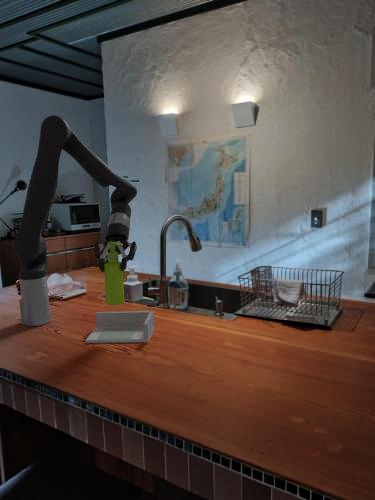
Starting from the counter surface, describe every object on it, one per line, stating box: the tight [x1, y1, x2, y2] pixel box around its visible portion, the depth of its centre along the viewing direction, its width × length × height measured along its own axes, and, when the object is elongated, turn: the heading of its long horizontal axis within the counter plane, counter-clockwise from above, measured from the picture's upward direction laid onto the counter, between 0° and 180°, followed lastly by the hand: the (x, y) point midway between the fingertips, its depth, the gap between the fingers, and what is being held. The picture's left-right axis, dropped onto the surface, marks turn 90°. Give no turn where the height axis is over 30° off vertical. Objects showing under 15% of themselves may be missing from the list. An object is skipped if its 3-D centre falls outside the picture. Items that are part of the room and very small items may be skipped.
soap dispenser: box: [103, 242, 125, 306], centre depth 124 cm, size 6×7×20 cm
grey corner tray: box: [85, 310, 155, 344], centre depth 128 cm, size 20×13×6 cm, turn 87°
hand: (112, 270), depth 122 cm, fingers closed on soap dispenser, 6 cm apart
